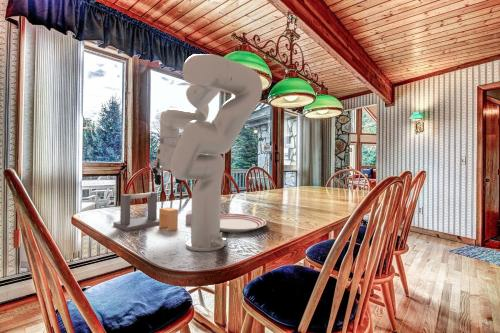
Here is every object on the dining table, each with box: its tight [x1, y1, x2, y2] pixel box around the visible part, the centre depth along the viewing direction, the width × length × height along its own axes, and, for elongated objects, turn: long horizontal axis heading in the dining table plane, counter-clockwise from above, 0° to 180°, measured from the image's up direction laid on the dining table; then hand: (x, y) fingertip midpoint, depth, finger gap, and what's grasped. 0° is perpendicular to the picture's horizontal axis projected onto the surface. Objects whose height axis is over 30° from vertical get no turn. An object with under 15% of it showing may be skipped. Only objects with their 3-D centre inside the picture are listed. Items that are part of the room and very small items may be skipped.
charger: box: [185, 209, 192, 225], centre depth 119 cm, size 5×9×15 cm
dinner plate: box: [220, 213, 267, 233], centre depth 109 cm, size 27×27×3 cm
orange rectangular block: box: [158, 207, 179, 232], centre depth 103 cm, size 7×4×8 cm, turn 52°
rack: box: [113, 191, 159, 232], centre depth 108 cm, size 12×16×14 cm
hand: (168, 183), depth 103 cm, fingers open, 9 cm apart
